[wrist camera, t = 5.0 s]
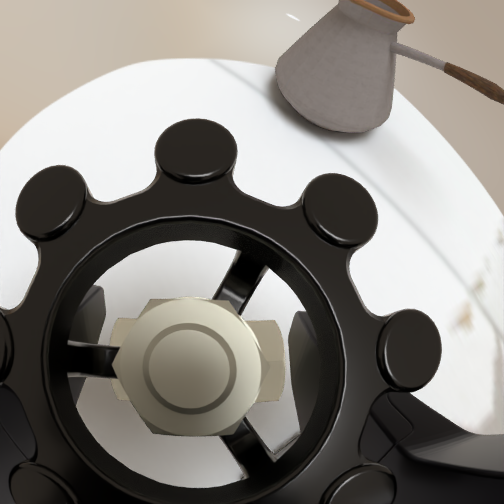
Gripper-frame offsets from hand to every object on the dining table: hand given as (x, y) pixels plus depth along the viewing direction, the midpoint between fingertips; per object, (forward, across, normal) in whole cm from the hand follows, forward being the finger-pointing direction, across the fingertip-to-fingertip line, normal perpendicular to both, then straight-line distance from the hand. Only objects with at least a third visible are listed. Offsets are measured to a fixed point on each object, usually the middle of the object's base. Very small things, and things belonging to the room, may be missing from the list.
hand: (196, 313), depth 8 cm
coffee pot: (+21, -12, -6) cm, 25 cm away
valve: (+4, 0, +6) cm, 7 cm away
